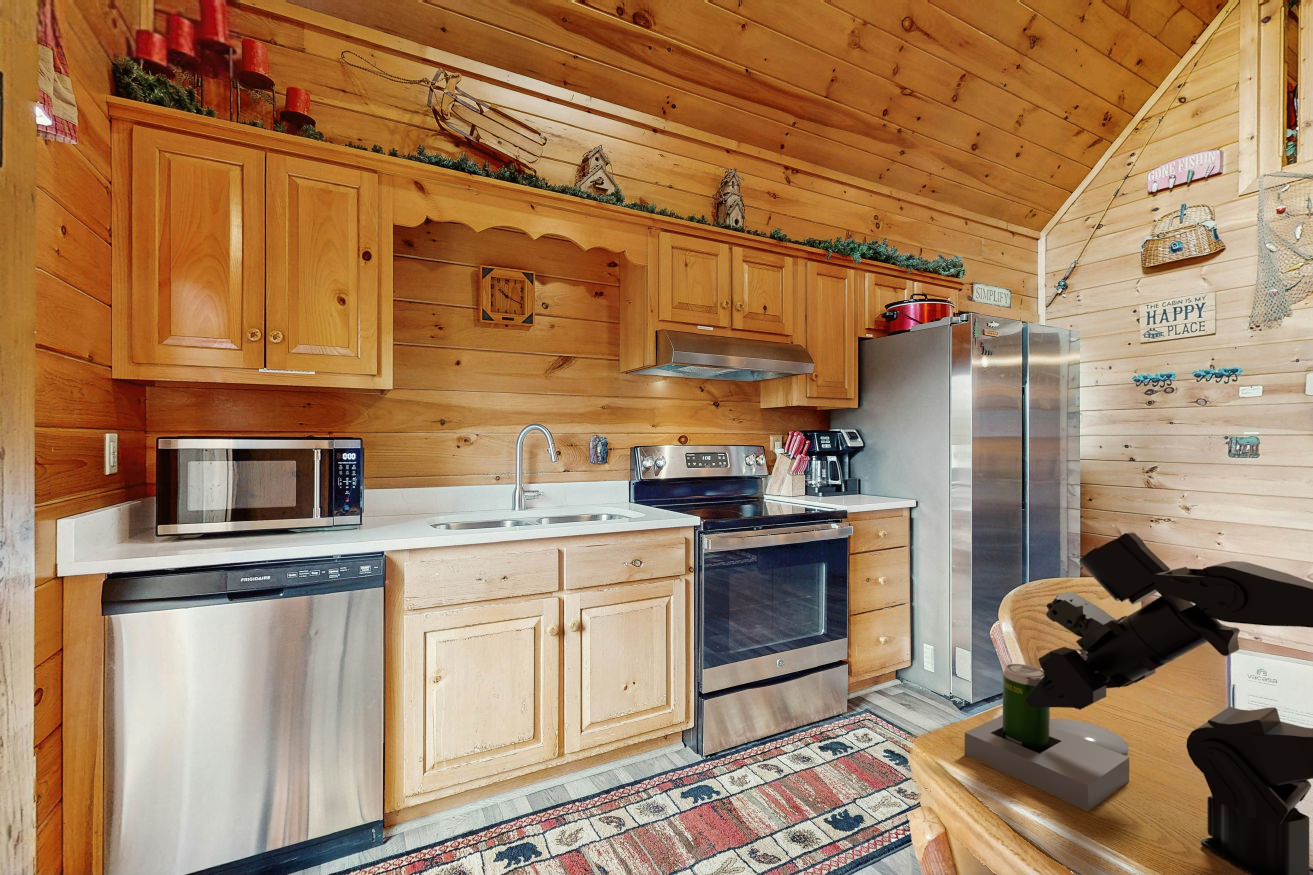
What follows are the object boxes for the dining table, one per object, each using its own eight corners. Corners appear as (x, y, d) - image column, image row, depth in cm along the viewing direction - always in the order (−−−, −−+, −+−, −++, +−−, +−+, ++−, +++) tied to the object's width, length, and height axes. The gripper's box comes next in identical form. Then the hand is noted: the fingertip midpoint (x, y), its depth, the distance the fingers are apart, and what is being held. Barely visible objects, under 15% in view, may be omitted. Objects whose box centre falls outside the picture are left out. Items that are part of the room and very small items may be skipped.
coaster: (1146, 752, 80) (1146, 748, 80) (1091, 761, 78) (1091, 756, 78) (1078, 719, 90) (1078, 715, 90) (1026, 726, 88) (1026, 722, 88)
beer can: (1037, 774, 74) (1038, 681, 75) (994, 755, 79) (995, 667, 79) (1056, 762, 77) (1057, 673, 78) (1013, 745, 82) (1014, 660, 82)
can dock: (1129, 780, 73) (1129, 756, 73) (1088, 811, 67) (1088, 785, 67) (1009, 732, 86) (1009, 711, 86) (964, 754, 79) (964, 732, 79)
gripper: (1126, 569, 77) (1035, 629, 86) (1058, 585, 67) (964, 650, 76) (1204, 647, 70) (1096, 702, 79) (1142, 677, 60) (1027, 736, 69)
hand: (1046, 695), depth 76 cm, fingers open, 9 cm apart
